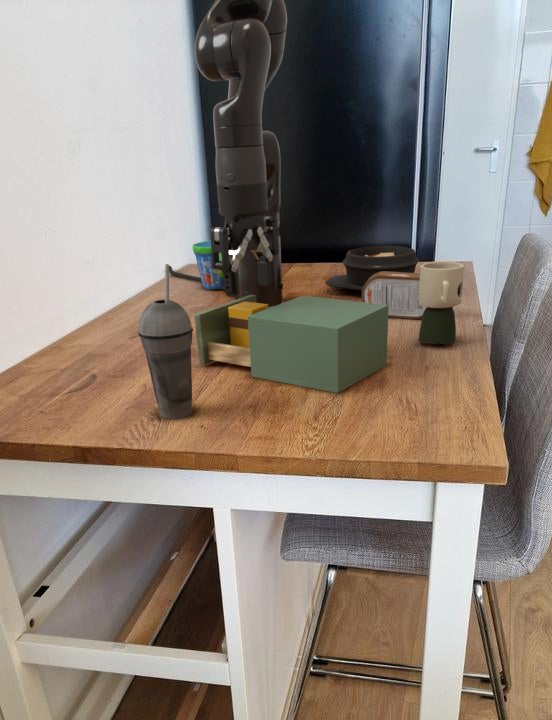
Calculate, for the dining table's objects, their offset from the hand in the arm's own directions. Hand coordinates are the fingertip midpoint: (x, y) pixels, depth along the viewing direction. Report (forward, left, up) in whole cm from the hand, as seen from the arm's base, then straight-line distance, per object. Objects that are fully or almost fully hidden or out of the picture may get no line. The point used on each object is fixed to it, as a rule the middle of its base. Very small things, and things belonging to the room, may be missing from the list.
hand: (248, 290), depth 114 cm
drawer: (+1, 0, -11) cm, 11 cm away
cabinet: (+13, 0, -11) cm, 18 cm away
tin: (+9, +35, -12) cm, 38 cm away
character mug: (+23, +22, -12) cm, 34 cm away
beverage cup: (+5, -25, -12) cm, 28 cm away
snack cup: (-43, +42, -12) cm, 61 cm away
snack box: (0, 0, -9) cm, 9 cm away
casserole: (-6, +55, -12) cm, 56 cm away
